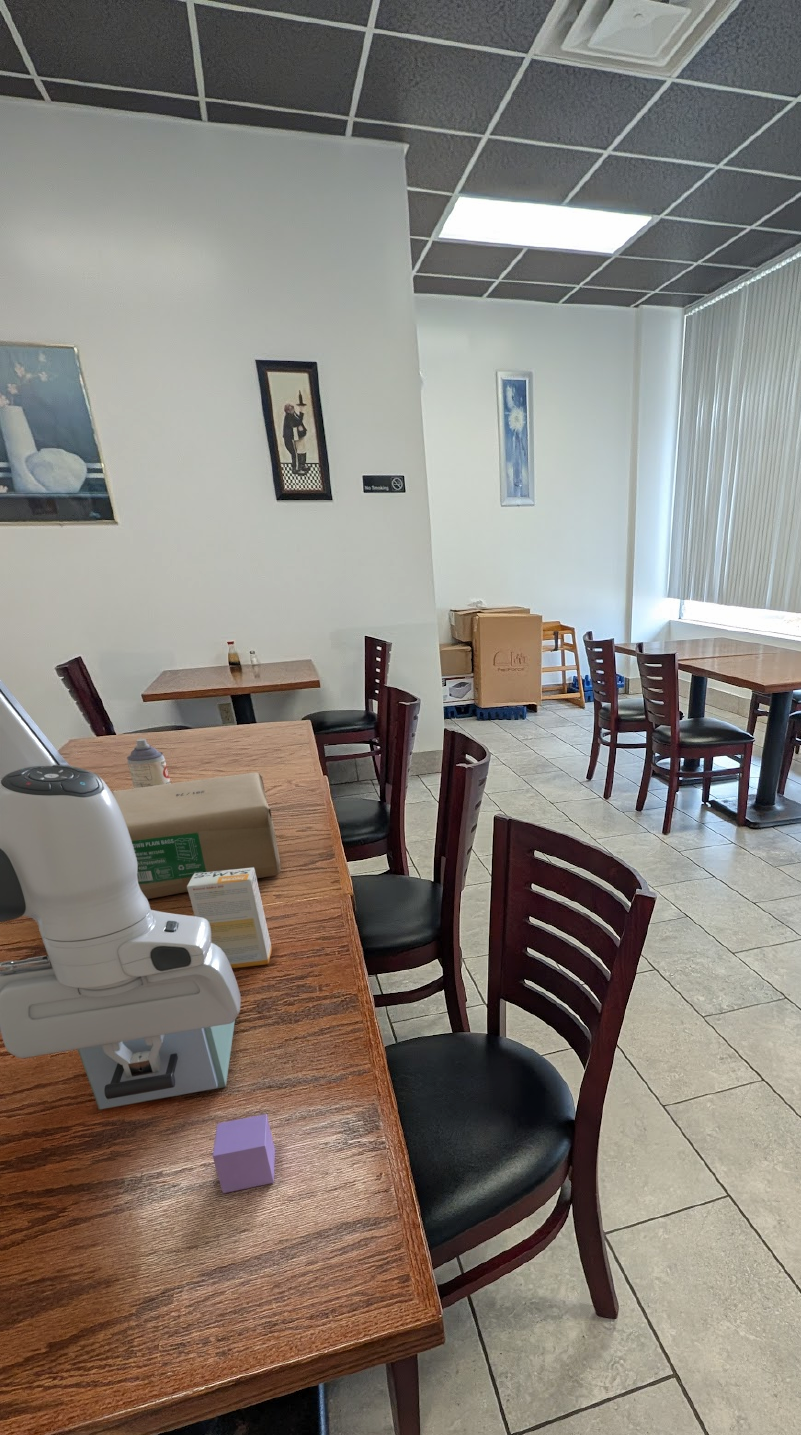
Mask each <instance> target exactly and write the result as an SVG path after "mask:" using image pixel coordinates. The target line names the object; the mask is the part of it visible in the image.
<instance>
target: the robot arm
mask: <svg viewBox="0 0 801 1435" xmlns="http://www.w3.org/2000/svg"><path fill="white" fill-rule="evenodd" d="M112 792H113V791H111V789H110V787H109V786H108V785H107V783H106V782H105V781H104V780H103V778H102V777H100V775H98V774H96V773H95V772H92V771H89V770H87V769H84V768H82V767H77V766H71V765H70V764H69V763H68V761H67V760H66V759H65V758H64V756H62V755H61V753H60V752H59V751H58V750H57V748H55V746H54V745H53V744H52V742H51V741H50V740H49V738H48V737H47V736H46V735H45V734H44V732H43V731H42V729H41V728H40V727H39V726H38V725H37V723H36V722H35V721H34V720H33V718H32V717H31V716H30V714H29V713H28V712H27V711H26V710H25V708H24V707H23V706H22V705H21V703H20V702H19V701H18V700H17V698H16V697H15V696H14V694H13V693H12V692H11V690H10V689H9V688H8V687H7V686H6V684H5V683H4V682H3V681H2V679H0V923H4V922H10V921H13V920H17V919H19V918H22V917H23V918H24V917H25V918H26V917H27V918H31V919H33V920H34V921H35V922H36V924H37V926H38V930H39V934H40V937H41V940H42V942H43V945H44V948H45V951H46V955H41V956H34V957H30V958H26V959H21V960H20V959H19V960H5V961H2V962H0V1035H1V1038H2V1041H3V1044H4V1048H5V1049H6V1051H7V1053H9V1054H11V1055H13V1057H16V1058H18V1059H29V1058H35V1057H41V1056H46V1055H47V1056H48V1055H52V1054H59V1053H65V1052H71V1051H76V1050H77V1051H78V1049H83V1048H89V1047H95V1046H100V1045H102V1047H103V1049H104V1052H105V1054H107V1055H108V1056H109V1057H111V1058H112V1059H113V1060H115V1061H116V1062H118V1063H119V1064H120V1065H123V1068H124V1071H125V1074H126V1077H127V1078H129V1077H135V1076H140V1075H145V1074H150V1073H156V1072H160V1068H161V1059H160V1056H159V1050H160V1047H161V1045H162V1041H163V1038H164V1035H165V1034H171V1033H177V1032H183V1031H189V1030H195V1029H201V1028H207V1027H213V1026H219V1025H225V1024H230V1023H232V1022H234V1020H235V1021H236V1020H237V1017H238V1016H239V1015H240V1012H241V1008H242V1007H241V1006H242V1005H241V1004H242V998H241V992H240V988H239V985H238V982H237V979H236V976H235V973H234V971H233V968H231V966H230V963H229V961H228V959H227V957H226V955H225V953H224V952H223V951H222V949H221V948H219V947H218V946H217V945H215V944H213V943H211V927H210V924H209V922H208V920H206V919H205V918H202V917H196V916H195V915H188V914H187V915H186V914H179V913H172V912H164V911H159V910H153V909H151V905H150V902H149V899H147V898H146V897H145V895H144V894H143V892H142V891H141V889H140V887H139V884H138V878H137V871H138V863H137V858H136V855H135V851H134V848H133V844H132V841H131V837H130V834H129V831H128V828H127V825H126V823H125V820H124V817H123V815H122V812H121V810H120V808H119V805H118V803H117V801H116V799H115V797H114V795H113V794H112ZM142 1038H144V1039H145V1043H146V1045H148V1046H149V1045H152V1047H151V1049H150V1050H148V1051H143V1052H136V1053H133V1052H132V1051H131V1050H129V1049H128V1048H127V1047H126V1046H125V1045H124V1044H123V1043H122V1042H124V1041H130V1040H136V1039H142Z"/></svg>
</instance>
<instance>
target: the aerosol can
mask: <svg viewBox="0 0 801 1435" xmlns="http://www.w3.org/2000/svg"><path fill="white" fill-rule="evenodd" d="M135 741H136V745H135V746H134V748H133V749H132V750H131V751H130V755H128V756H126V759H127V767H128V771H129V774H130V778H131V782H132V785H133V789H134V788H141V787H149V786H156V785H164V784H171V779H170V775H169V771H168V768H167V767H168V766H167V762H166V758H165V756H164V755H163V752H162V751H158V749H157V748H155V747H152V745H150V744H149V743H148V742H147V739H146V738H139V739H136V740H135Z"/></svg>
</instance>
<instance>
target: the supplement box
mask: <svg viewBox="0 0 801 1435" xmlns="http://www.w3.org/2000/svg"><path fill="white" fill-rule="evenodd" d="M187 889H188V892H187V893H188V896H189V899H190V902H191V907H192V911H193V916H196V917H202V918H205V919H206V920H208V922H209V924H210V927H211V943H213V944H215V945H217V946H218V947H219V948H221V949H222V951H223V952H224V953H225V955H226V957H227V959H228V961H229V963H230V966H231V968H232V969H238V968H247V967H255V966H263V965H264V966H265V965H269V963H270V960H271V959H270V958H271V954H272V950H273V948H272V943H271V938H270V934H269V929H268V924H267V921H266V916H265V915H266V914H265V911H264V906H263V902H262V897H261V892H260V888H259V883H258V879H257V878H256V874H255V869H254V868H243V869H233V870H225V871H214V872H204V873H195V874H194V875H193V876H192V878H191V880H190V882H189V884H188V885H187Z"/></svg>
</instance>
